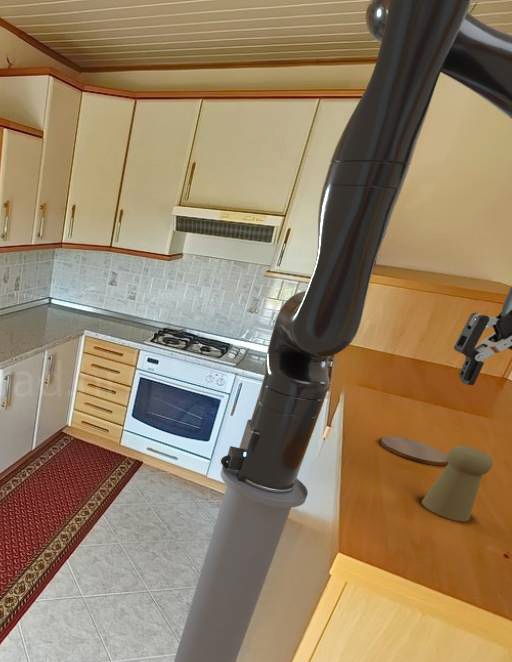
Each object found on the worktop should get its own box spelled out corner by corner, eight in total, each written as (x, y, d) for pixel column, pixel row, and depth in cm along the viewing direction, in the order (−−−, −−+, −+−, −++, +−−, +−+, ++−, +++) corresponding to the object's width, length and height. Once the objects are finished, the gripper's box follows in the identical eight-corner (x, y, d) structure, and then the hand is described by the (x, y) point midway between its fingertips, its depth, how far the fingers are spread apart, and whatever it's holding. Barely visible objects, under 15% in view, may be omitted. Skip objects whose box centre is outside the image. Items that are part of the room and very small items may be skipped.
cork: (479, 524, 76) (511, 462, 72) (437, 517, 77) (467, 456, 73) (452, 502, 82) (480, 444, 78) (413, 496, 83) (439, 438, 79)
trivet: (392, 457, 97) (394, 453, 97) (372, 435, 107) (373, 431, 107) (458, 470, 94) (460, 466, 94) (431, 446, 104) (433, 443, 104)
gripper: (508, 275, 66) (457, 387, 71) (644, 290, 62) (579, 407, 67) (476, 270, 72) (432, 373, 78) (598, 283, 69) (542, 390, 74)
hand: (500, 389), depth 73 cm, fingers open, 8 cm apart
